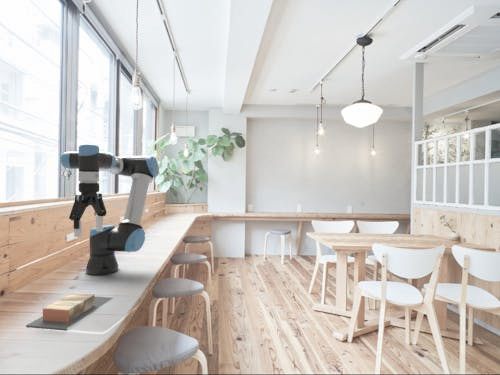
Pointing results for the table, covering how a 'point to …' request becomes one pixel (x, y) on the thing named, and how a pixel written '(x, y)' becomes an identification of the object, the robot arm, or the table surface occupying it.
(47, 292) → the table surface
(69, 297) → the block
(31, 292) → the table surface
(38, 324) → the mat
